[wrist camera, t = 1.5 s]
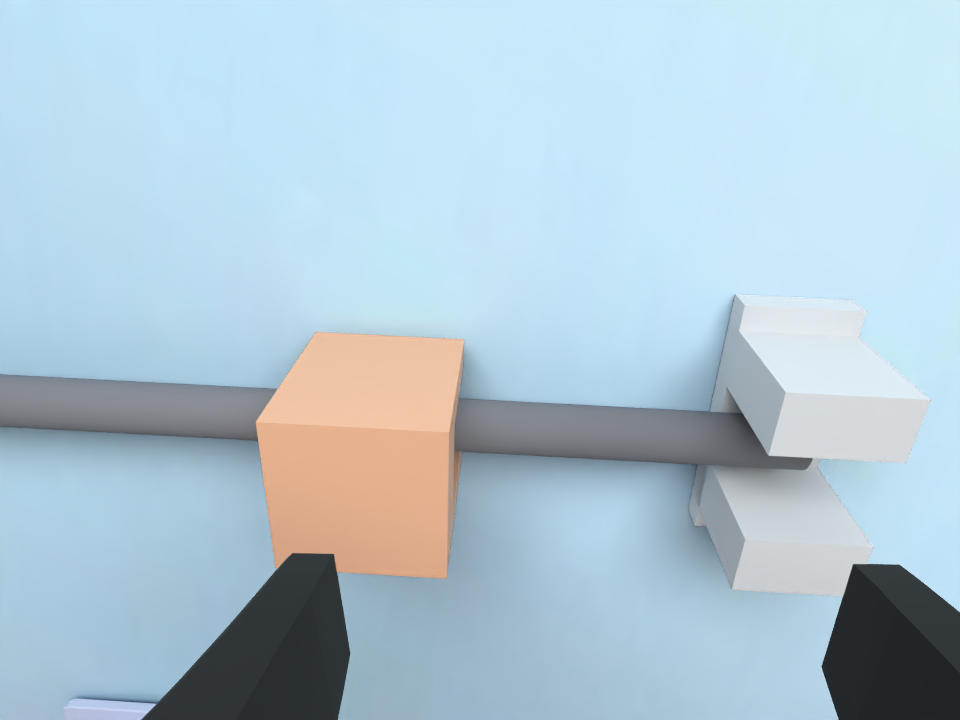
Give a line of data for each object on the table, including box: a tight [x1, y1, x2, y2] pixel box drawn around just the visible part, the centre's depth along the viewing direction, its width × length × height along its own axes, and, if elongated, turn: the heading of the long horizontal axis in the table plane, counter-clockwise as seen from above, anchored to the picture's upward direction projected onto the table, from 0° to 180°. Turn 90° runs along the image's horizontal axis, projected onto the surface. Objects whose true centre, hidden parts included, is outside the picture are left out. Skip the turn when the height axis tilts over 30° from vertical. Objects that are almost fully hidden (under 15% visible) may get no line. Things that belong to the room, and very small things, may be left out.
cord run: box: [0, 294, 931, 596], centre depth 17 cm, size 36×7×4 cm, turn 88°
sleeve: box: [256, 332, 464, 579], centre depth 16 cm, size 4×4×5 cm
